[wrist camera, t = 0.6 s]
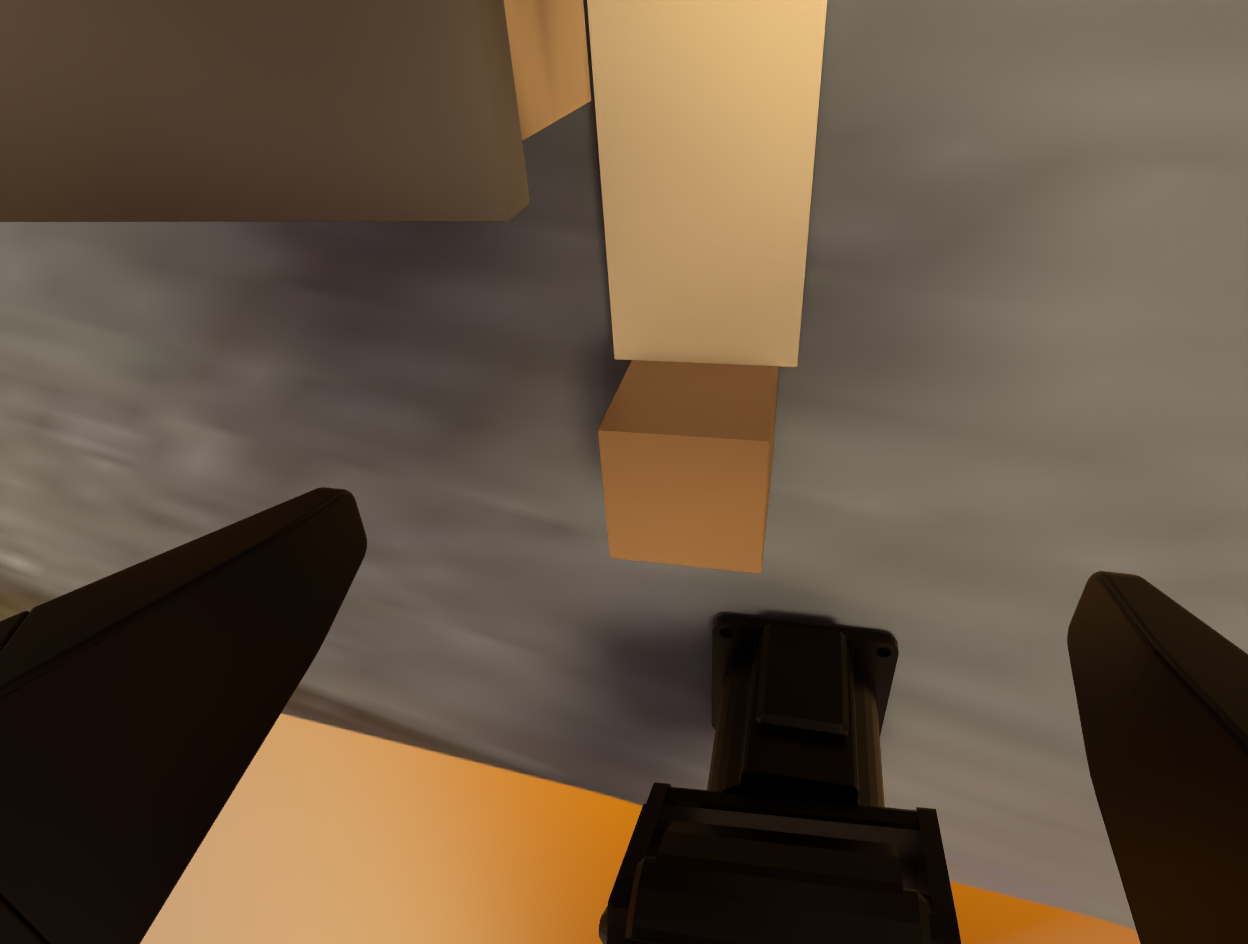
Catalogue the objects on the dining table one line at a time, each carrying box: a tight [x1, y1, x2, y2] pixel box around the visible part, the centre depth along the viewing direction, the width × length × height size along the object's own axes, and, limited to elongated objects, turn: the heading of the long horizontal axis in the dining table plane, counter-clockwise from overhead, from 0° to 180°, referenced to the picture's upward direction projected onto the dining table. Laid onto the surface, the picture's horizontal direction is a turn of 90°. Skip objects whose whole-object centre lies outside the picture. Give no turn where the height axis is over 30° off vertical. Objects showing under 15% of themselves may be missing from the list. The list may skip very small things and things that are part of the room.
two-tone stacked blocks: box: [587, 0, 827, 573], centre depth 16 cm, size 16×5×5 cm, turn 4°
